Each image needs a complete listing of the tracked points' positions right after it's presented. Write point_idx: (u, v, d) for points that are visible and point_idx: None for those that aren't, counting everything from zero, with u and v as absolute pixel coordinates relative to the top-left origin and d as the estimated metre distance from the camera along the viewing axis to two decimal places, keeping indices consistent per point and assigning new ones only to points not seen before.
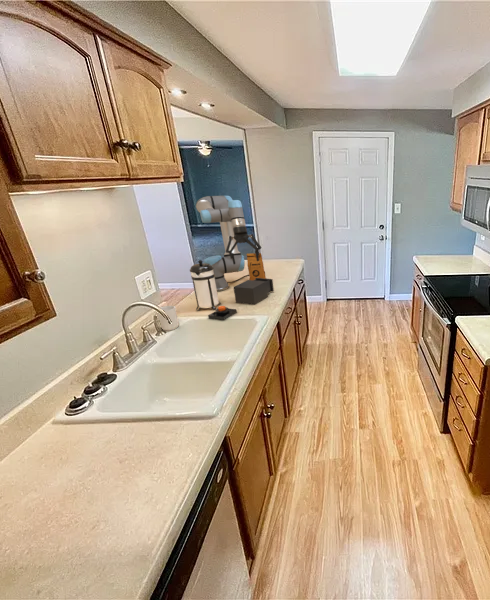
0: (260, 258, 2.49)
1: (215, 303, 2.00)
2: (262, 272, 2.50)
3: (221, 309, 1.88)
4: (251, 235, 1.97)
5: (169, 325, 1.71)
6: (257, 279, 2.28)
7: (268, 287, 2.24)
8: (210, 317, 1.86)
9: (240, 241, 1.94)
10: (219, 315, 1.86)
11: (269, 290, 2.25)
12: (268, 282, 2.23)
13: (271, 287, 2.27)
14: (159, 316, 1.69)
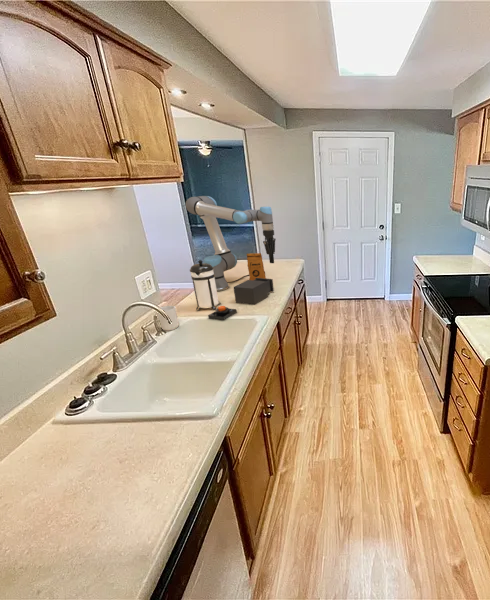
0: (260, 258, 2.49)
1: (215, 303, 2.00)
2: (262, 272, 2.50)
3: (221, 309, 1.88)
4: (274, 239, 2.34)
5: (169, 325, 1.71)
6: (257, 279, 2.28)
7: (268, 287, 2.24)
8: (210, 317, 1.86)
9: None
10: (219, 315, 1.86)
11: (269, 290, 2.25)
12: (268, 282, 2.23)
13: (271, 287, 2.27)
14: (159, 316, 1.69)
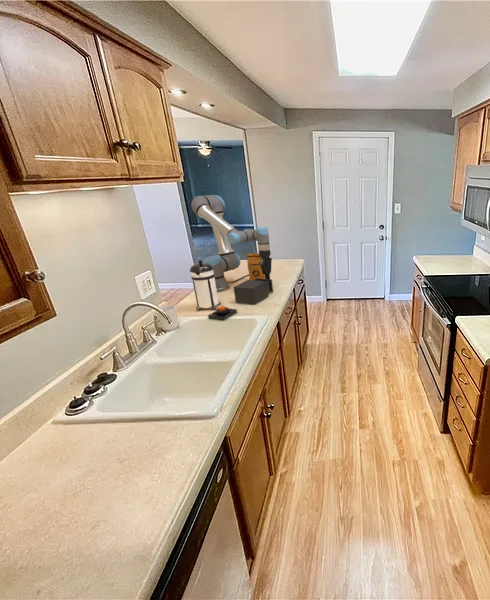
0: (260, 258, 2.49)
1: (215, 303, 2.00)
2: None
3: (221, 309, 1.88)
4: (271, 258, 2.32)
5: (169, 325, 1.71)
6: (256, 279, 2.27)
7: (267, 287, 2.23)
8: (210, 317, 1.86)
9: (266, 262, 2.27)
10: (219, 315, 1.86)
11: (268, 290, 2.24)
12: (267, 282, 2.22)
13: (270, 287, 2.27)
14: (159, 316, 1.69)
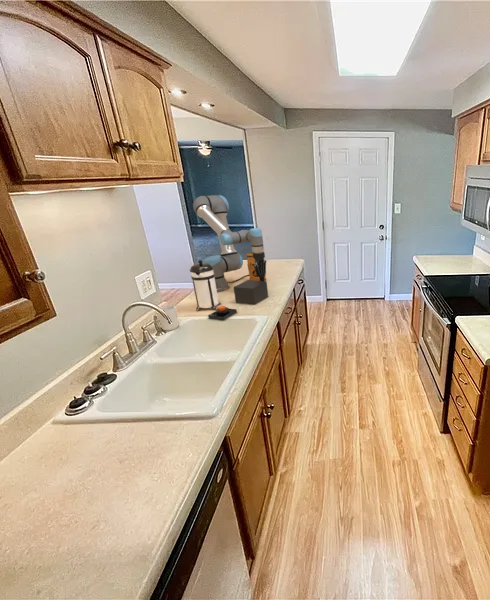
0: None
1: (215, 303, 2.00)
2: None
3: (221, 309, 1.88)
4: (265, 261, 2.25)
5: (169, 325, 1.71)
6: None
7: None
8: (210, 317, 1.86)
9: (260, 264, 2.20)
10: (219, 315, 1.86)
11: None
12: None
13: None
14: (159, 316, 1.69)
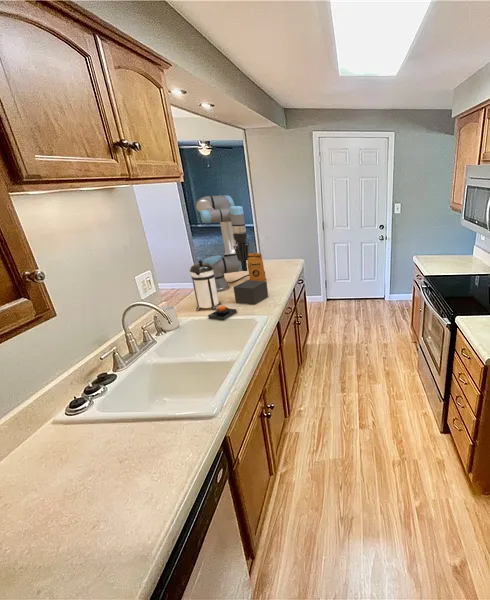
0: (260, 258, 2.49)
1: (215, 303, 2.00)
2: (262, 272, 2.50)
3: (221, 309, 1.88)
4: (247, 243, 2.04)
5: (169, 325, 1.71)
6: None
7: None
8: (210, 317, 1.86)
9: None
10: (219, 315, 1.86)
11: None
12: None
13: None
14: (159, 316, 1.69)
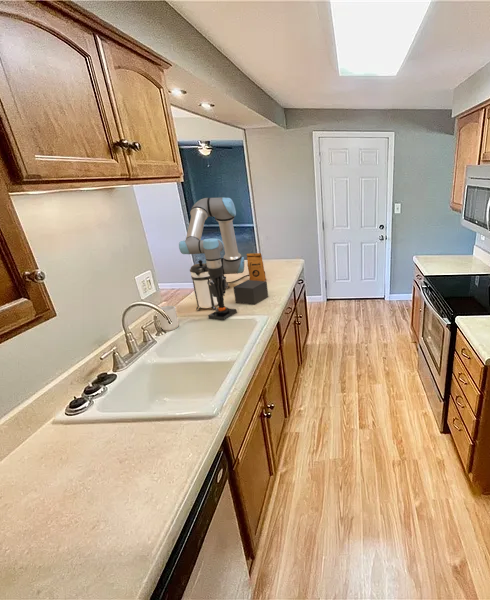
0: (260, 258, 2.49)
1: (215, 303, 2.00)
2: (262, 272, 2.50)
3: (221, 309, 1.88)
4: (224, 277, 1.88)
5: (169, 325, 1.71)
6: None
7: None
8: (210, 317, 1.86)
9: None
10: (219, 315, 1.86)
11: None
12: None
13: None
14: (159, 316, 1.69)
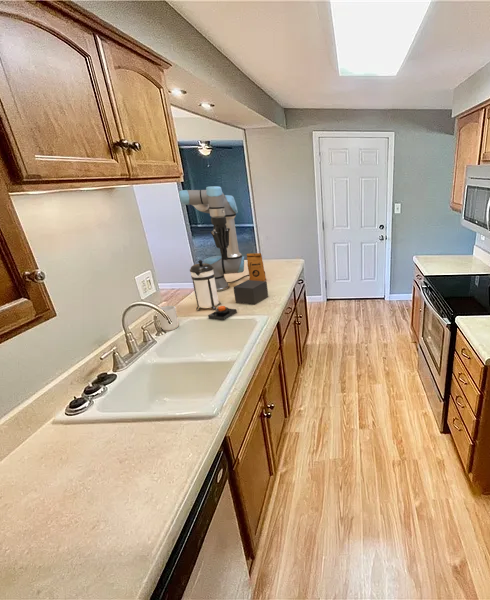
0: (260, 258, 2.49)
1: (215, 303, 2.00)
2: (262, 272, 2.50)
3: (221, 309, 1.88)
4: (228, 229, 1.84)
5: (169, 325, 1.71)
6: None
7: None
8: (210, 317, 1.86)
9: None
10: (219, 315, 1.86)
11: None
12: None
13: None
14: (159, 316, 1.69)
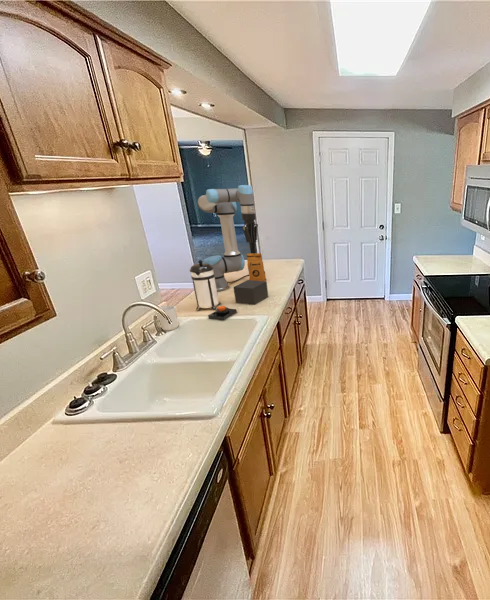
0: (260, 258, 2.49)
1: (215, 303, 2.00)
2: (262, 272, 2.50)
3: (221, 309, 1.88)
4: (256, 224, 1.98)
5: (169, 325, 1.71)
6: None
7: None
8: (210, 317, 1.86)
9: None
10: (219, 315, 1.86)
11: None
12: None
13: None
14: (159, 316, 1.69)
